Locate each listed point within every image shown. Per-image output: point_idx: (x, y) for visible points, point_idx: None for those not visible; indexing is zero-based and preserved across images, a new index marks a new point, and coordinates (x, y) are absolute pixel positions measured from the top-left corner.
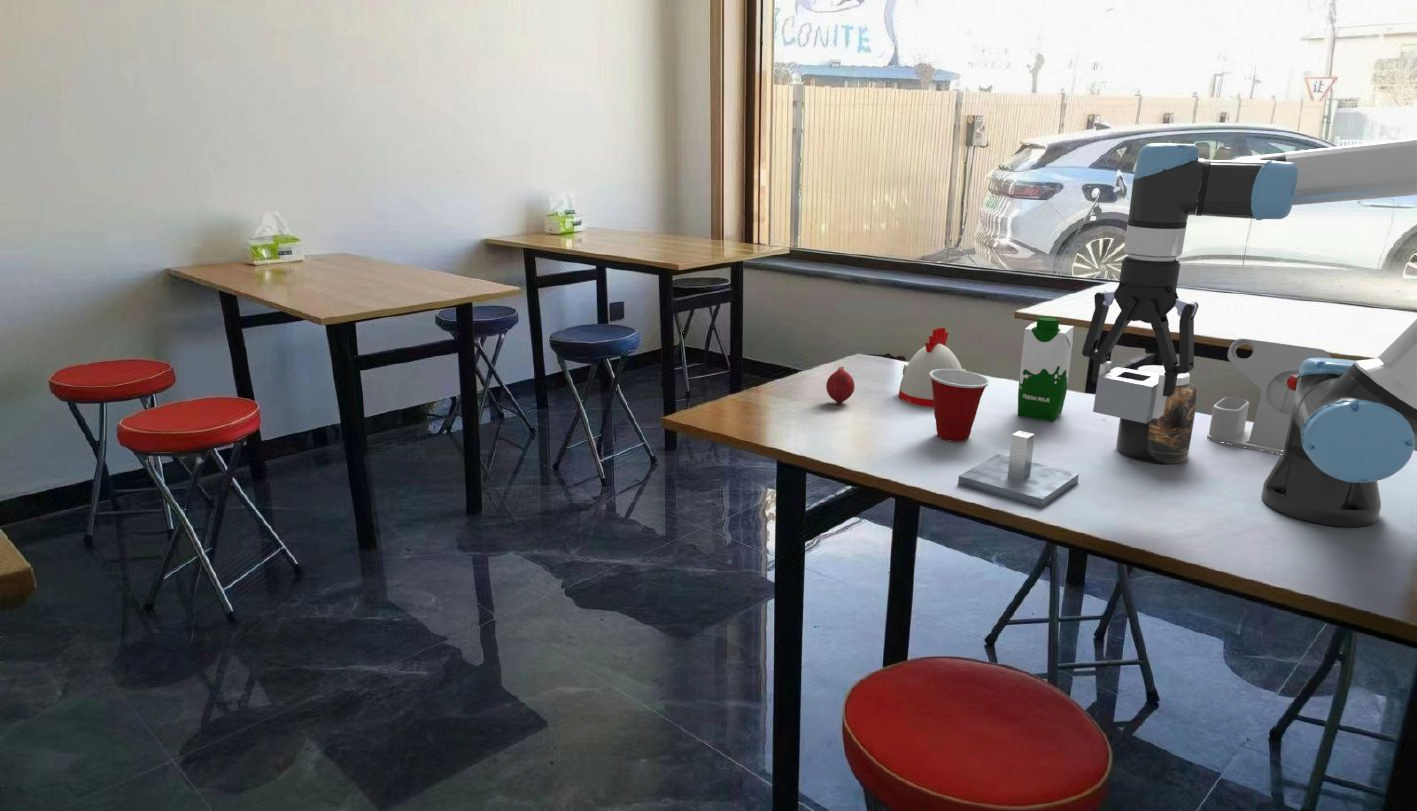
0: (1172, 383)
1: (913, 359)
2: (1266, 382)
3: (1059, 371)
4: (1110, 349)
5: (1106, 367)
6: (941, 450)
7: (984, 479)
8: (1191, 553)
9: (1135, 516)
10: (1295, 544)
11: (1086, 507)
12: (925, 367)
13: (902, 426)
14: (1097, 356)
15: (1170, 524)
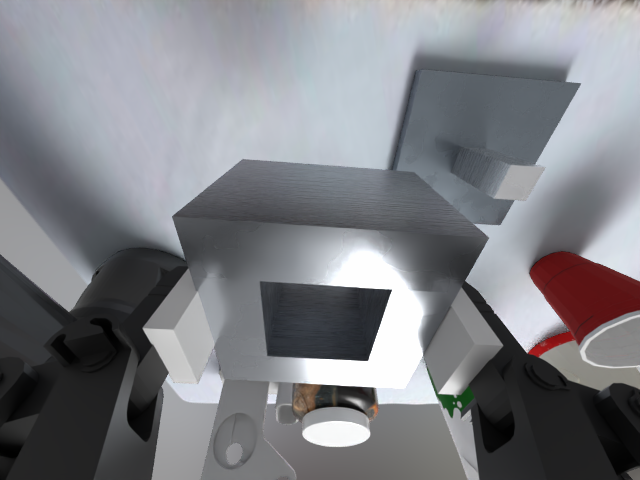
0: (139, 308)
1: None
2: (257, 447)
3: (459, 412)
4: (505, 477)
5: (455, 341)
6: (575, 215)
7: (529, 98)
8: (166, 34)
9: (286, 139)
10: (110, 177)
11: (352, 127)
12: (627, 380)
13: (624, 265)
14: (557, 395)
15: (240, 141)
